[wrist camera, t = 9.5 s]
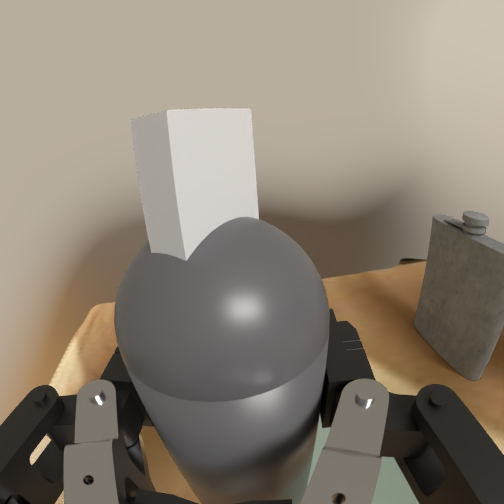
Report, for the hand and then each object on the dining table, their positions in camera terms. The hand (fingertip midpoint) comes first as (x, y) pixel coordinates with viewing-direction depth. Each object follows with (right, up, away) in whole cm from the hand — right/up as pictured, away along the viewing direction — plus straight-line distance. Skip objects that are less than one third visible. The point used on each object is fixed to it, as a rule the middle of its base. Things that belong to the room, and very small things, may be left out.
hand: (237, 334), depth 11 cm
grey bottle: (+1, -9, +1) cm, 9 cm away
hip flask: (+28, -11, +25) cm, 40 cm away
